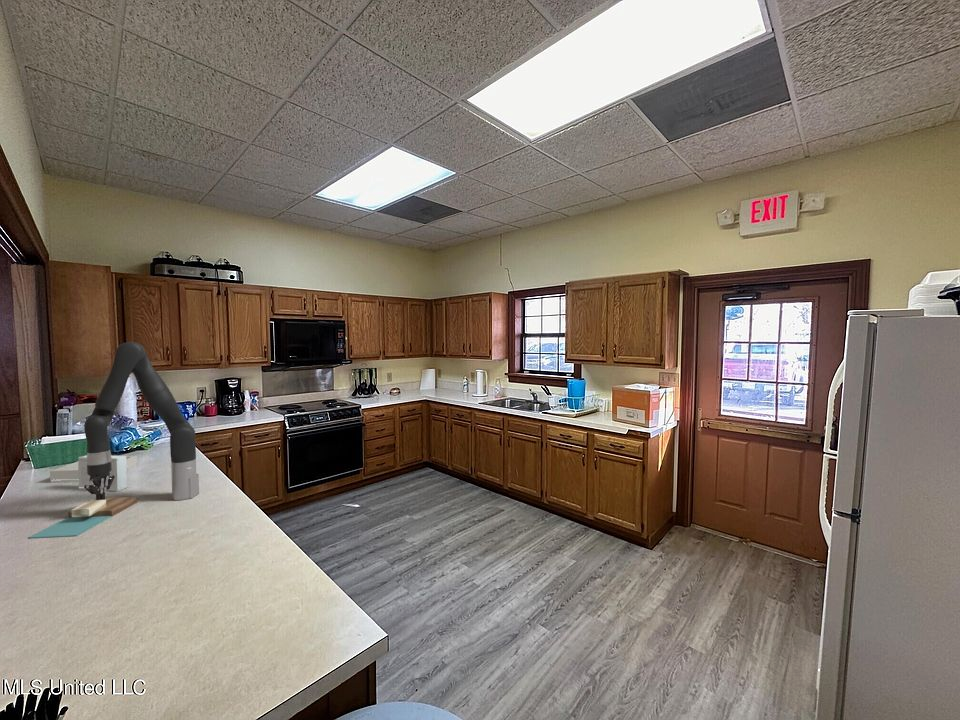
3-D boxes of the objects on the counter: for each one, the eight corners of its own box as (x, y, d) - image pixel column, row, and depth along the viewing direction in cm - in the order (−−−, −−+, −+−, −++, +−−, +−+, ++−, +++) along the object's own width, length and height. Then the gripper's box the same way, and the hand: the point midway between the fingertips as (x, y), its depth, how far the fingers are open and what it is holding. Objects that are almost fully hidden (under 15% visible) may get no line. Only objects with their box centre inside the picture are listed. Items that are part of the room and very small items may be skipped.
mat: (111, 517, 164) (111, 516, 164) (76, 536, 148) (76, 535, 148) (67, 518, 162) (67, 517, 162) (27, 538, 146) (27, 537, 146)
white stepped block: (137, 466, 228) (137, 455, 228) (103, 481, 204) (102, 469, 204) (90, 467, 225) (90, 457, 225) (50, 482, 201) (49, 471, 201)
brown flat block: (136, 502, 178) (136, 497, 178) (112, 516, 164) (111, 510, 164) (96, 504, 176) (96, 498, 176) (68, 518, 162) (68, 512, 162)
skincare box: (128, 487, 196) (127, 455, 195) (117, 491, 190) (116, 458, 190) (89, 485, 198) (88, 454, 197) (77, 489, 193) (76, 457, 192)
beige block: (106, 506, 167) (105, 499, 167) (89, 516, 159) (89, 509, 158) (89, 507, 166) (89, 500, 166) (71, 517, 158) (71, 510, 157)
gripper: (95, 466, 162) (97, 508, 162) (121, 456, 175) (122, 495, 176) (75, 466, 161) (77, 509, 162) (102, 457, 174) (103, 496, 175)
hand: (100, 501), depth 169 cm, fingers closed
